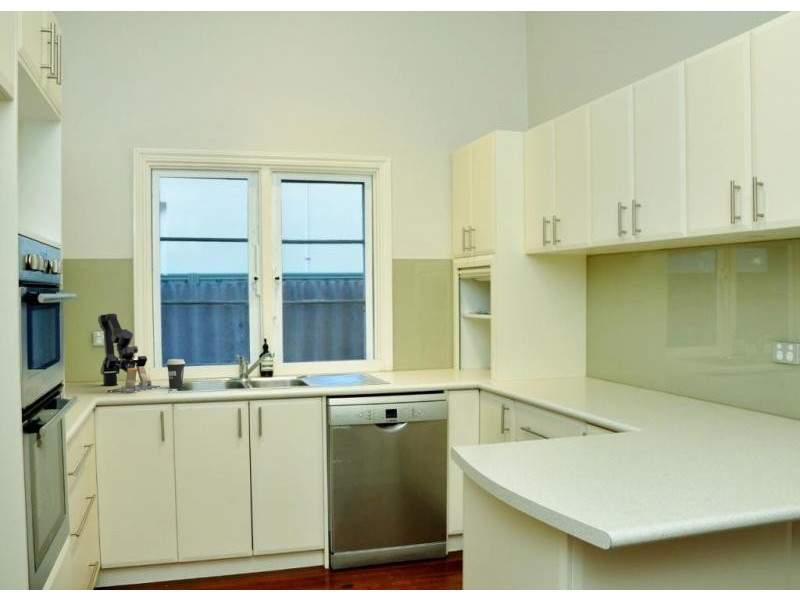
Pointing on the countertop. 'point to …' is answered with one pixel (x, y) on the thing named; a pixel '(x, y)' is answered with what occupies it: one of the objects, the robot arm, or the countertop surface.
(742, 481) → the countertop surface
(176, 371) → the coffee cup
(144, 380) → the lever
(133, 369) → the lever
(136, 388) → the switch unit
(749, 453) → the countertop surface
